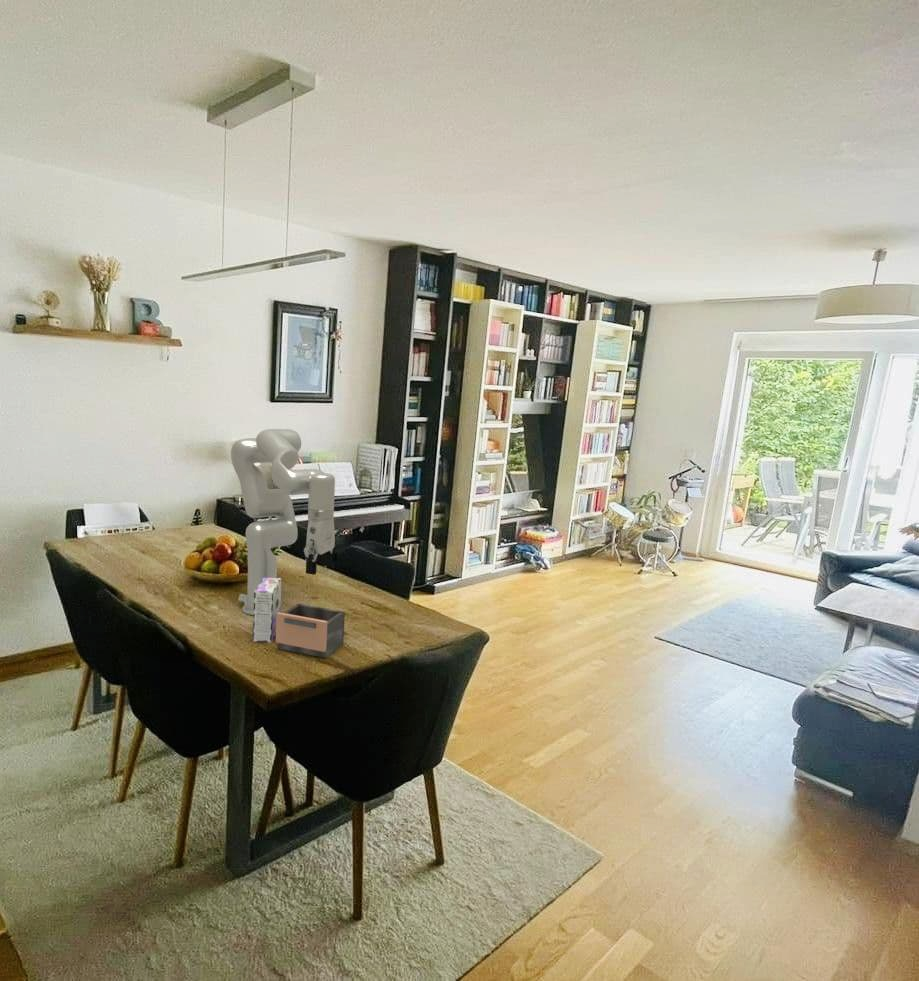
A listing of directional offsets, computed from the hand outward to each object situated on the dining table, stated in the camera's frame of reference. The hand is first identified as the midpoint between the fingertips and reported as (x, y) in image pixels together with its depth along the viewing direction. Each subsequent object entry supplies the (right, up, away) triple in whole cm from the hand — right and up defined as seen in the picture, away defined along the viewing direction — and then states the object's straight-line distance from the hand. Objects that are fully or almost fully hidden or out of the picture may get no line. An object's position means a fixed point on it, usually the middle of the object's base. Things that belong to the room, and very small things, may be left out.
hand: (318, 569), depth 186 cm
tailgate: (-4, -22, -5) cm, 23 cm away
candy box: (-18, -22, +8) cm, 29 cm away
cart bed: (-3, -24, +1) cm, 24 cm away
